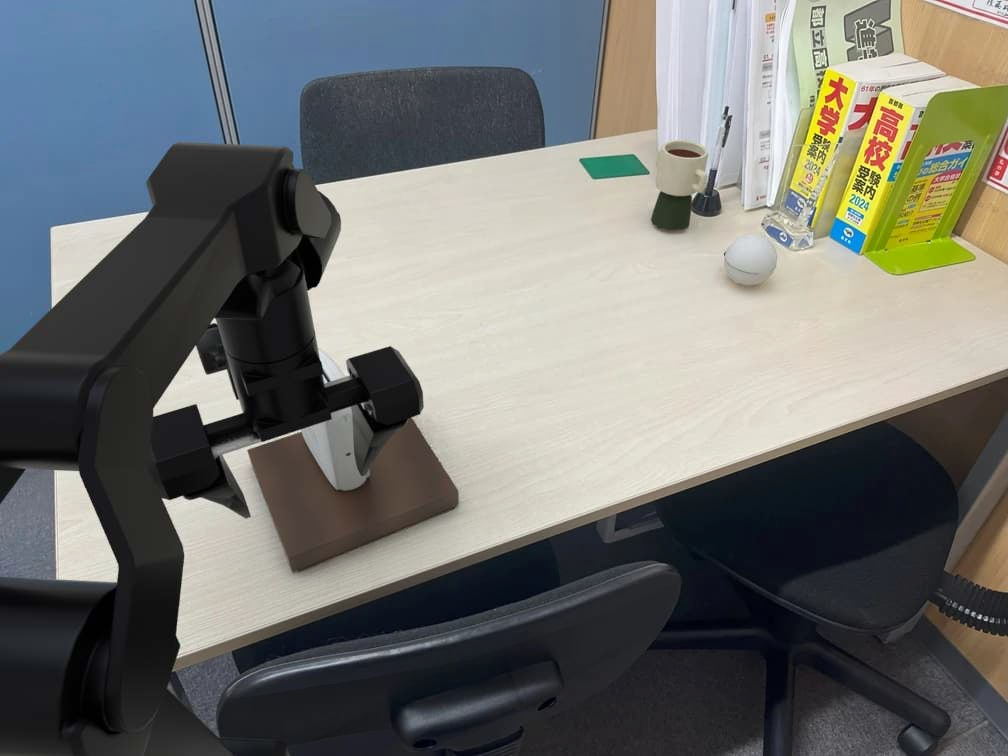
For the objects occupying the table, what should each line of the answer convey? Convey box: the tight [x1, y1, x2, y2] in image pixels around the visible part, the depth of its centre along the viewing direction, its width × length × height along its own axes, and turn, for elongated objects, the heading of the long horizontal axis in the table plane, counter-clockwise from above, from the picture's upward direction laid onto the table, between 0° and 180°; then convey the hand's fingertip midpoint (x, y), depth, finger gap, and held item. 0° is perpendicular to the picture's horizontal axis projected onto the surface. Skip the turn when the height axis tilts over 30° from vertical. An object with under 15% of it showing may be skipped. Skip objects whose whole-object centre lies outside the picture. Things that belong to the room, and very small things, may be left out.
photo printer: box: [300, 347, 370, 491], centre depth 69 cm, size 10×4×12 cm, turn 33°
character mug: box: [650, 139, 709, 231], centre depth 113 cm, size 11×7×13 cm, turn 31°
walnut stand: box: [246, 417, 460, 573], centre depth 73 cm, size 17×15×2 cm
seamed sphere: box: [719, 233, 778, 287], centre depth 102 cm, size 10×7×7 cm
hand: (306, 492), depth 56 cm, fingers open, 9 cm apart
